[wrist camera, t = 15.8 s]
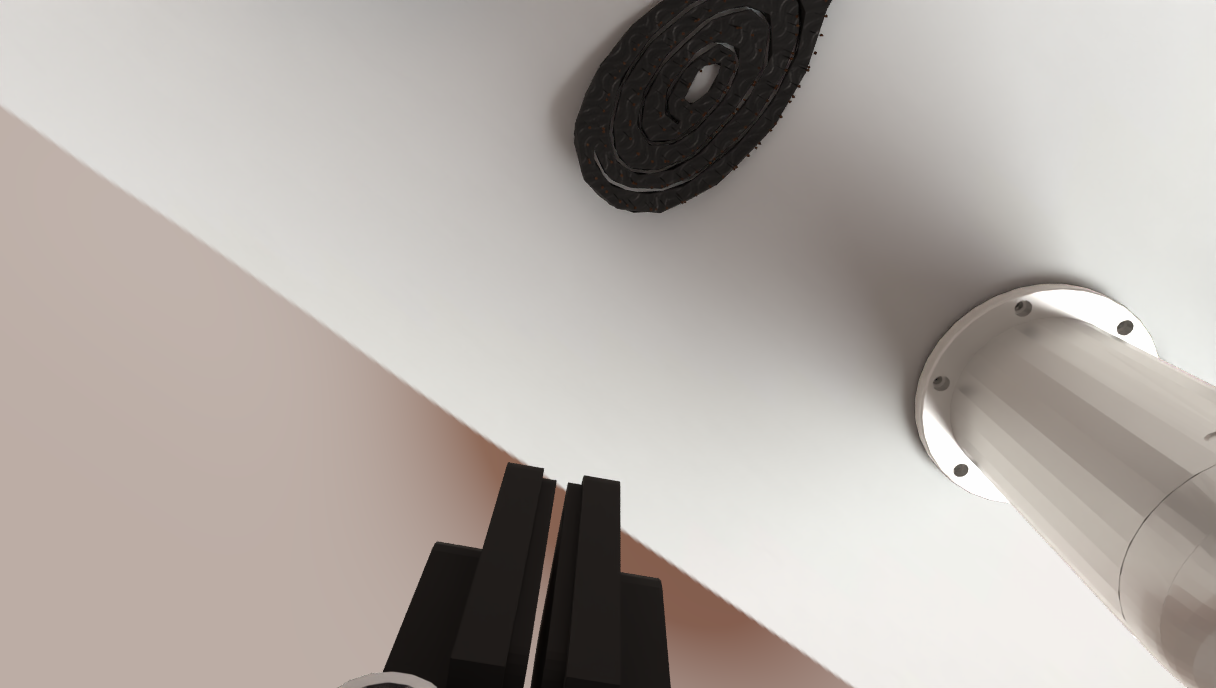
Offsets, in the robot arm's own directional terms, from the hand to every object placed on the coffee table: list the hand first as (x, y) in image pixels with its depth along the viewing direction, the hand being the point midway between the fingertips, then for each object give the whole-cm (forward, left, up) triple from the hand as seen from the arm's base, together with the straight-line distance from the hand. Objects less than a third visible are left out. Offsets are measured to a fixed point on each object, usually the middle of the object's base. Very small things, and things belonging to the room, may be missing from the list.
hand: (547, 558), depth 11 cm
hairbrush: (-7, -12, -30) cm, 33 cm away
